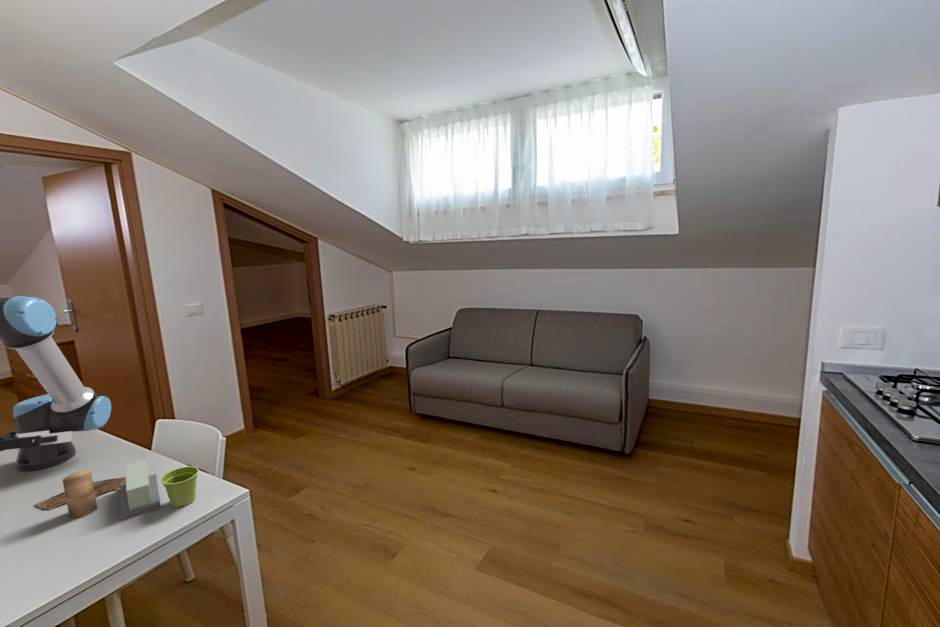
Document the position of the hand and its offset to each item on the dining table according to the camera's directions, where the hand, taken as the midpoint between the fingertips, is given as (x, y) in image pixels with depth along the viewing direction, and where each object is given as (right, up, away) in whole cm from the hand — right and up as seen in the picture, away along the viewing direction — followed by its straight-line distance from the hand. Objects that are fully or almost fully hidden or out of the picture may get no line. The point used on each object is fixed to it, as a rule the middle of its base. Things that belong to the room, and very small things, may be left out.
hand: (59, 435), depth 120 cm
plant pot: (+31, -22, +7) cm, 38 cm away
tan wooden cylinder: (+5, -22, +2) cm, 23 cm away
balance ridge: (+16, -21, +9) cm, 28 cm away
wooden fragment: (-2, -21, +13) cm, 25 cm away
